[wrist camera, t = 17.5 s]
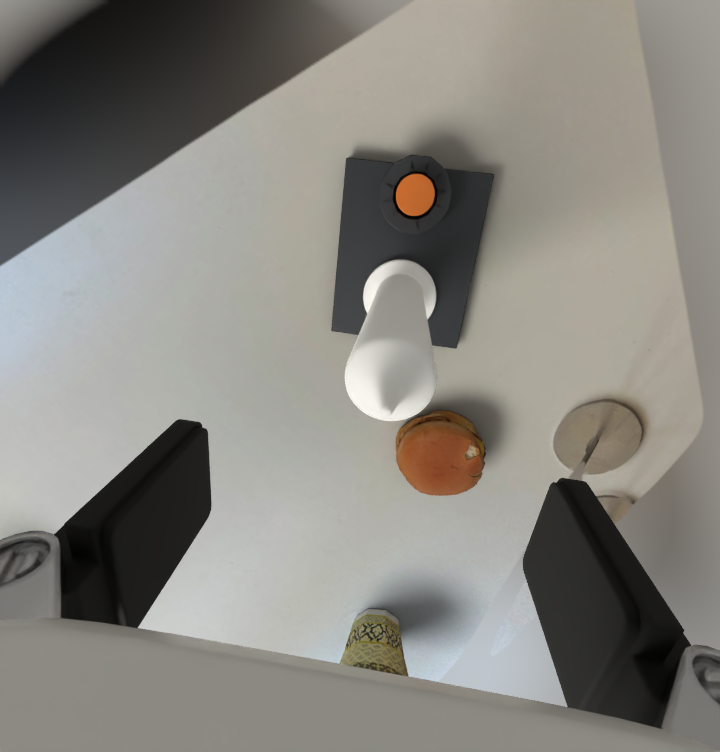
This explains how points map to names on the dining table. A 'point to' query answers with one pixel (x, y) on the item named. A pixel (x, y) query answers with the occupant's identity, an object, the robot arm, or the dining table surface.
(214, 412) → the dining table surface
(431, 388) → the candle
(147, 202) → the dining table surface
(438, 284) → the scale
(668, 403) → the dining table surface
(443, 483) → the burger
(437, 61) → the dining table surface
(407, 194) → the button
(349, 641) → the ceramic cup
